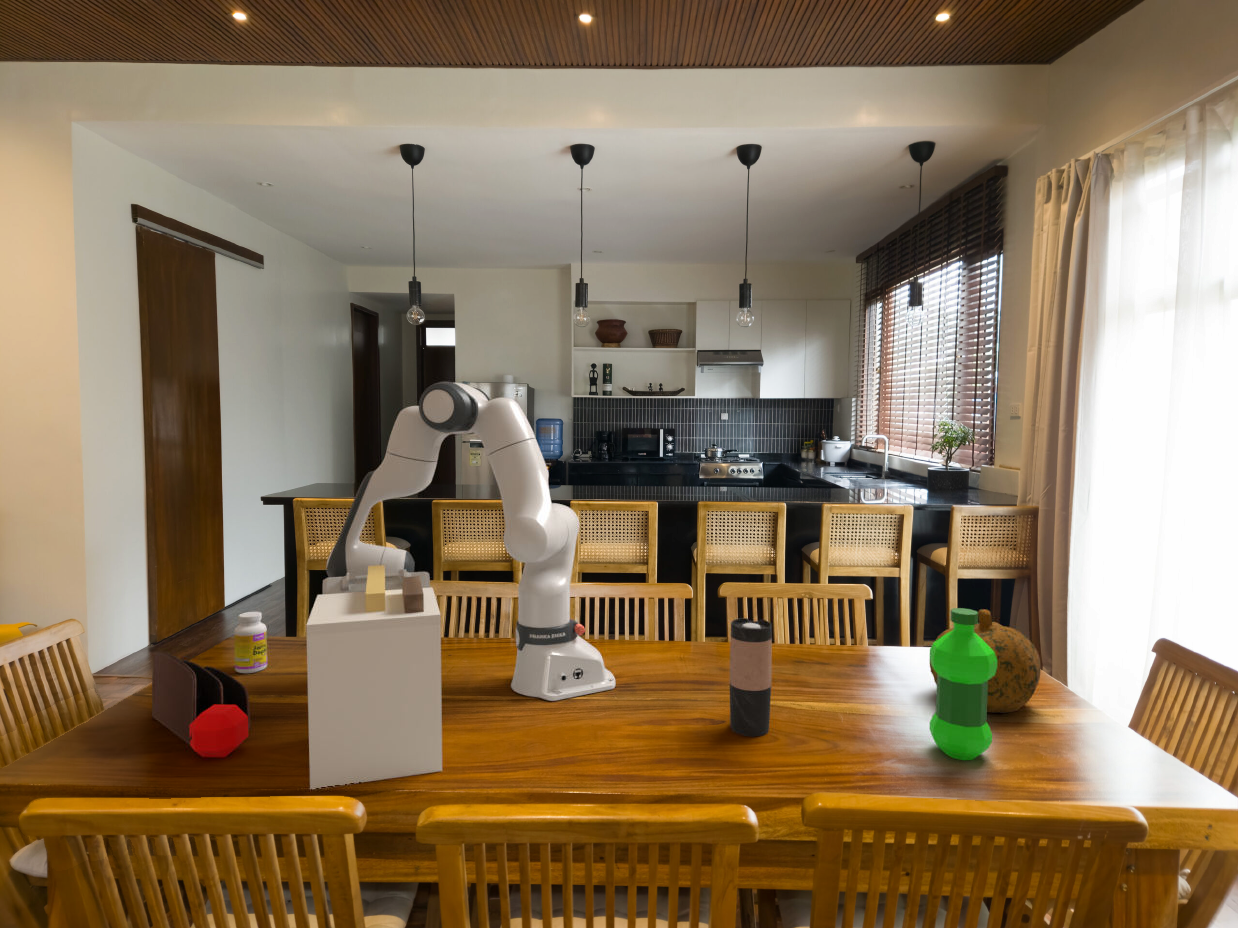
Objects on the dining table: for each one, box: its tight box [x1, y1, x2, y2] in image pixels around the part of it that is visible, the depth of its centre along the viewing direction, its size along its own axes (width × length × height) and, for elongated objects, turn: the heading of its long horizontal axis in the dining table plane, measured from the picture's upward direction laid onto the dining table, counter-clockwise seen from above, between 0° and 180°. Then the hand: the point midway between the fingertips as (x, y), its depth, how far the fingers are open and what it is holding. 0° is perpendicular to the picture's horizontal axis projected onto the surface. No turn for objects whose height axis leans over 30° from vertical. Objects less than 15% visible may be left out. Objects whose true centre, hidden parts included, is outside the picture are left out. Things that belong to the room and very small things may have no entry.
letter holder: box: [151, 650, 251, 746], centre depth 136 cm, size 10×20×14 cm, turn 51°
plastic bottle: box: [929, 607, 997, 761], centre depth 125 cm, size 10×10×25 cm
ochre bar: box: [366, 565, 385, 612], centre depth 130 cm, size 3×24×3 cm, turn 18°
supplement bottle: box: [233, 611, 268, 674], centre depth 166 cm, size 7×7×13 cm
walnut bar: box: [402, 576, 424, 613], centre depth 125 cm, size 3×14×3 cm, turn 18°
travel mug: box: [729, 617, 773, 737], centre depth 135 cm, size 8×8×20 cm
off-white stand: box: [305, 586, 443, 791], centre depth 124 cm, size 20×20×26 cm
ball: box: [189, 704, 250, 758], centre depth 125 cm, size 8×8×8 cm
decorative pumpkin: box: [929, 608, 1041, 714], centre depth 148 cm, size 20×21×20 cm
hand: (376, 574), depth 138 cm, fingers open, 8 cm apart
